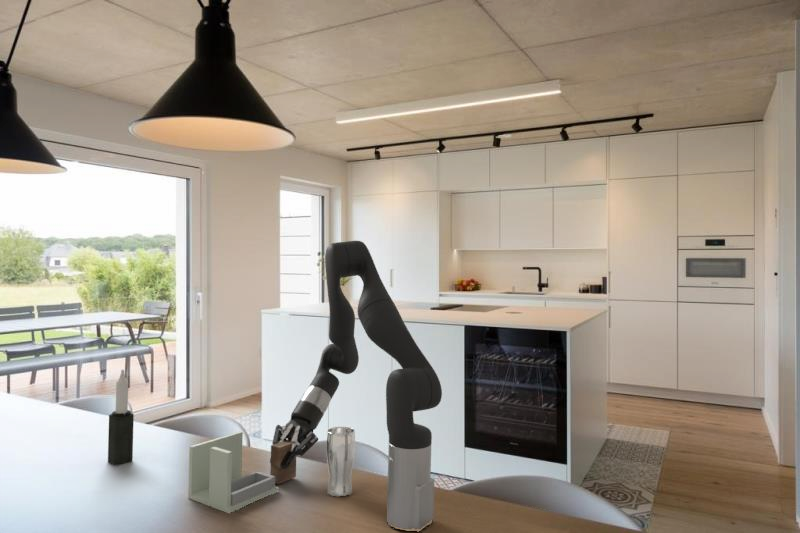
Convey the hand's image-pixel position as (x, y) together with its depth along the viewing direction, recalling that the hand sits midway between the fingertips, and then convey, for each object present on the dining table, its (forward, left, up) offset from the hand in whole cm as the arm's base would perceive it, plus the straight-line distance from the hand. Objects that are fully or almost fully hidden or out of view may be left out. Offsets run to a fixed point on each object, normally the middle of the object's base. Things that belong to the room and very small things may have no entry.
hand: (277, 465), depth 142 cm
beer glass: (-16, -5, -5) cm, 17 cm away
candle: (+45, +14, -5) cm, 47 cm away
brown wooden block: (0, -2, -4) cm, 4 cm away
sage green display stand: (+3, +11, -4) cm, 12 cm away
